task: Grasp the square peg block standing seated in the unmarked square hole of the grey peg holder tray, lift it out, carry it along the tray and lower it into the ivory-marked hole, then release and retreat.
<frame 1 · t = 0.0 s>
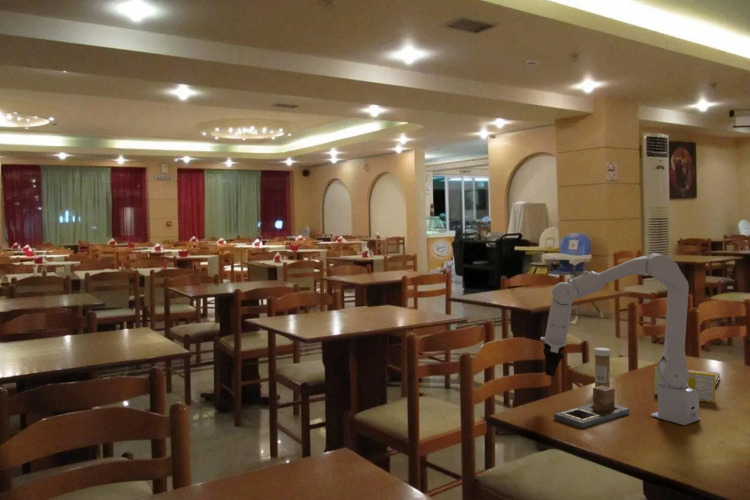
hand: (549, 371, 171), 11 cm above the table, tool pointing down, fingers open, 7 cm apart
sprinkles bottle: (602, 392, 187), on the table
washcloth: (696, 384, 197), on the table
candy box: (684, 398, 180), on the table
square peg block: (603, 413, 167), resting in grey peg holder tray
grey peg holder tray: (592, 416, 164), on the table
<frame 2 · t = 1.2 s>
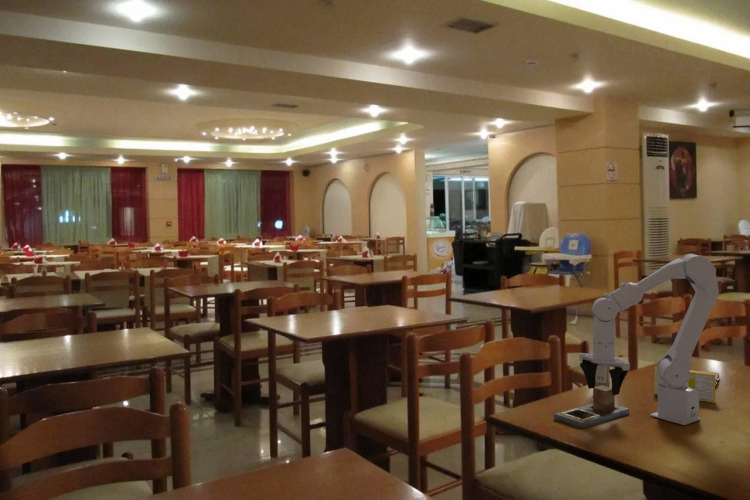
hand: (603, 391, 167), 6 cm above the table, tool pointing down, fingers open, 7 cm apart
nothing on the table moved.
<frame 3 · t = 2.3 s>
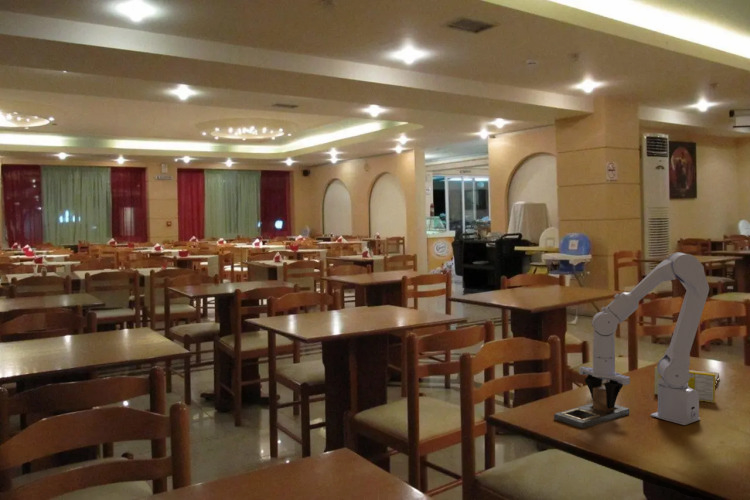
hand: (603, 405, 167), 2 cm above the table, tool pointing down, fingers closed on square peg block, 4 cm apart
square peg block: (603, 413, 167), resting in grey peg holder tray, touching gripper
everything else where it was.
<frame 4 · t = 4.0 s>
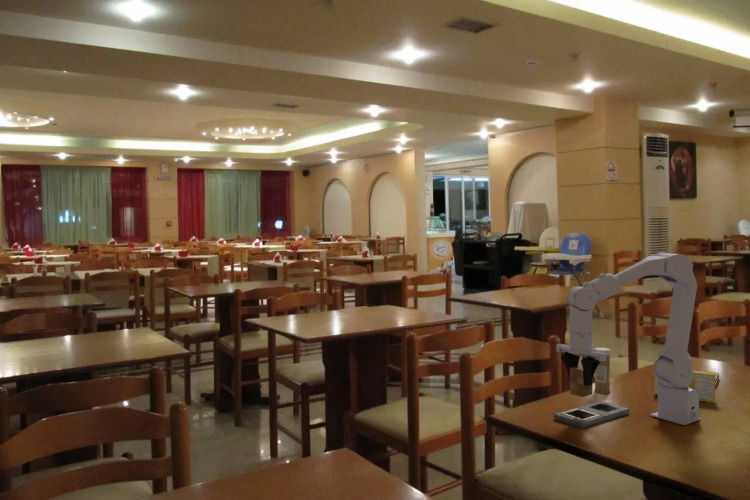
hand: (580, 383, 161), 10 cm above the table, tool pointing down, fingers closed on square peg block, 4 cm apart
square peg block: (581, 394, 161), point 7 cm above the table, touching gripper
everything else where it was.
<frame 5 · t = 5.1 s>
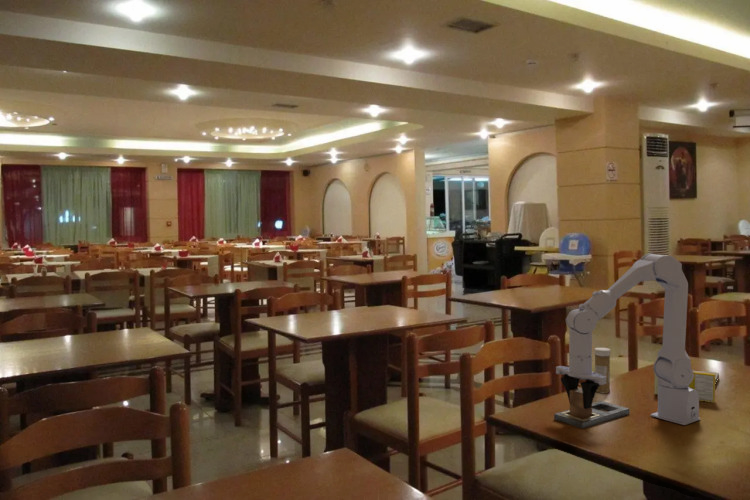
hand: (580, 405, 161), 4 cm above the table, tool pointing down, fingers closed on square peg block, 4 cm apart
square peg block: (580, 416, 161), point 1 cm above the table, touching gripper
everything else where it was.
when the fingers open (3 cm above the table, at t = 5.8 s): square peg block stays where it is, resting in grey peg holder tray.
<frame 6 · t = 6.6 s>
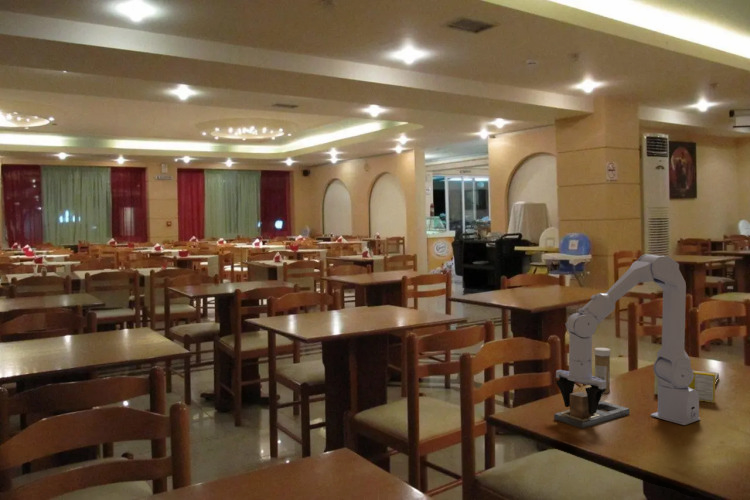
hand: (580, 409, 161), 3 cm above the table, tool pointing down, fingers open, 7 cm apart
square peg block: (580, 420, 161), resting in grey peg holder tray
everything else where it was.
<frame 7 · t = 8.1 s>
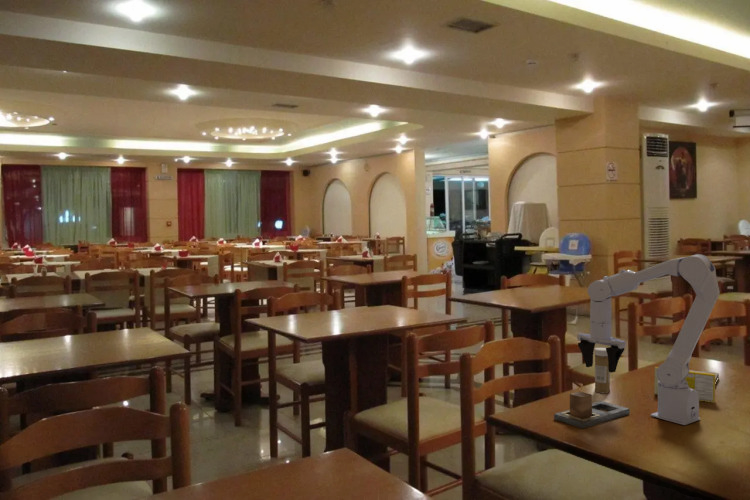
hand: (600, 369, 174), 10 cm above the table, tool pointing down, fingers open, 7 cm apart
nothing on the table moved.
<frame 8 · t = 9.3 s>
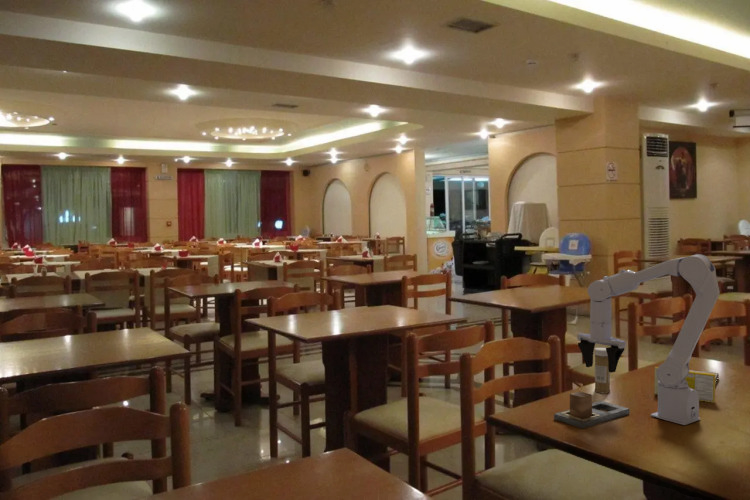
hand: (600, 369, 174), 10 cm above the table, tool pointing down, fingers open, 7 cm apart
nothing on the table moved.
at the end: square peg block 0.2 cm from the target spot on the grey peg holder tray, point 0.0 cm above the grey peg holder tray's base; square peg block tilted 0°; the gripper is holding nothing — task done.
